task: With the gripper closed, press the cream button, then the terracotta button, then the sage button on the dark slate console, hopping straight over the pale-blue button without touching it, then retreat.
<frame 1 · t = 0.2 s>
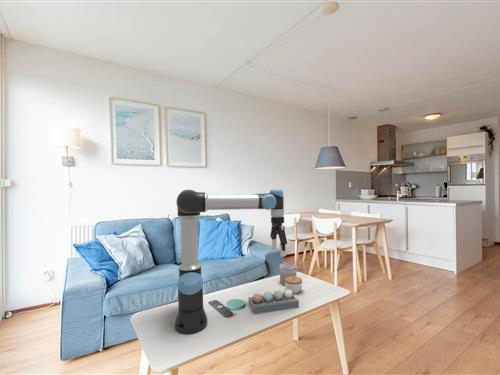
hand: (278, 253, 146), 27 cm above the table, fingers open, 13 cm apart
console: (273, 305, 140), on the table
terracotta button: (257, 298, 137), point 5 cm above the table, slide at 0.0 cm
cream button: (288, 294, 142), point 5 cm above the table, slide at 0.0 cm
lidded jar: (293, 292, 157), on the table
sage button: (278, 295, 140), point 5 cm above the table, slide at 0.0 cm
pale blue button: (267, 297, 139), point 5 cm above the table, slide at 0.0 cm
can: (288, 283, 170), on the table
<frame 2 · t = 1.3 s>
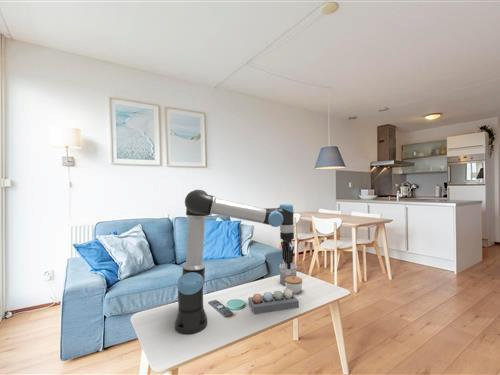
hand: (287, 273, 142), 16 cm above the table, fingers closed
nothing on the table moved.
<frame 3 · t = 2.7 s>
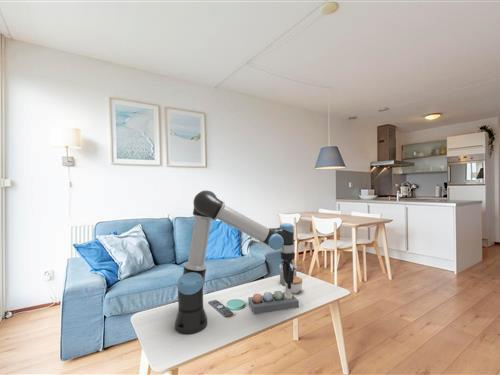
hand: (288, 293, 142), 5 cm above the table, fingers closed
cream button: (288, 297, 142), point 3 cm above the table, slide at 1.7 cm, touching gripper
everything else where it was.
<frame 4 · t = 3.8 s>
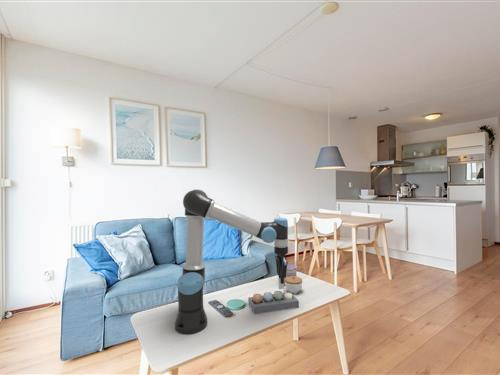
hand: (281, 288, 141), 9 cm above the table, fingers closed
cream button: (288, 297, 142), point 3 cm above the table, slide at 2.0 cm
everything else where it was.
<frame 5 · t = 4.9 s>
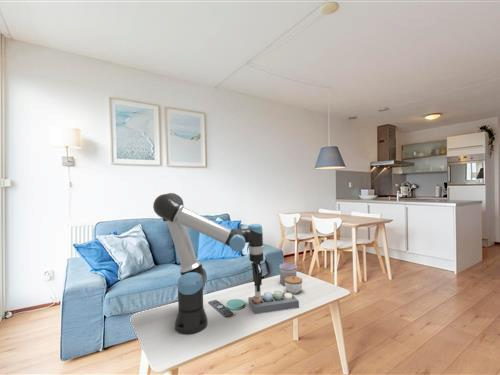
hand: (257, 296, 137), 6 cm above the table, fingers closed
terracotta button: (257, 300, 137), point 4 cm above the table, slide at 0.9 cm, touching gripper
everything else where it was.
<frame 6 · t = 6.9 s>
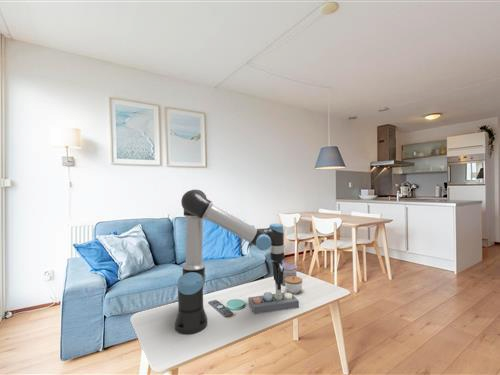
hand: (278, 294, 140), 6 cm above the table, fingers closed
terracotta button: (257, 302, 137), point 3 cm above the table, slide at 2.0 cm
sage button: (278, 298, 140), point 4 cm above the table, slide at 1.5 cm, touching gripper
everything else where it was.
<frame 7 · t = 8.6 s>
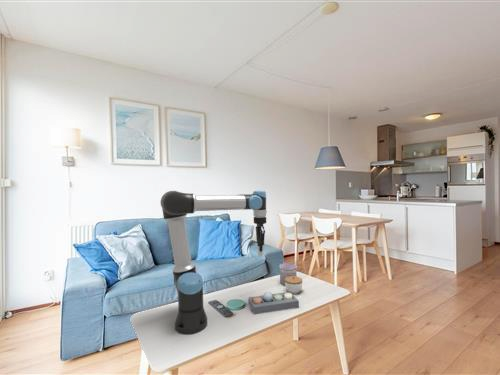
hand: (260, 256, 150), 24 cm above the table, fingers closed
sage button: (278, 299, 140), point 3 cm above the table, slide at 2.0 cm
everything else where it was.
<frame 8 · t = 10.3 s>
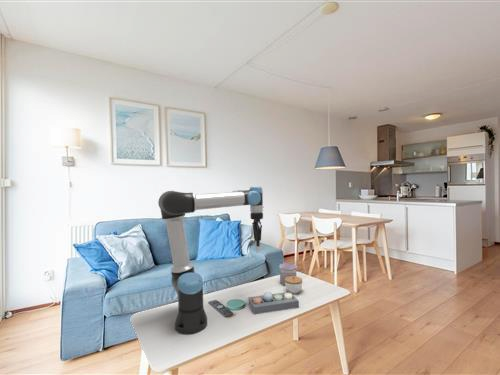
hand: (257, 251, 153), 26 cm above the table, fingers closed
nothing on the table moved.
at the end: terracotta button slide at 2.0 cm; sage button slide at 2.0 cm; pale blue button slide at 0.0 cm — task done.
